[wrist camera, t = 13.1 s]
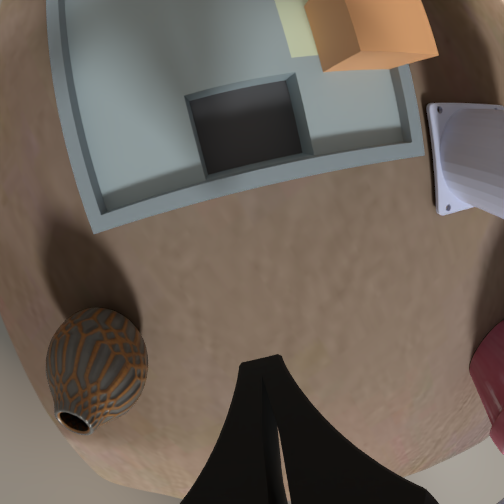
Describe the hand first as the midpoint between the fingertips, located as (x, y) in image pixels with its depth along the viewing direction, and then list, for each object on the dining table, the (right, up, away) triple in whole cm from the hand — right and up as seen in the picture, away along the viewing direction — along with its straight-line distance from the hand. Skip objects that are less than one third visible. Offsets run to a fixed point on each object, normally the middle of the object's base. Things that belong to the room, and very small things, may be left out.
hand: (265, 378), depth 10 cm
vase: (-11, -2, +11) cm, 15 cm away
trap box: (-2, +18, +3) cm, 18 cm away
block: (+5, +16, +2) cm, 16 cm away
